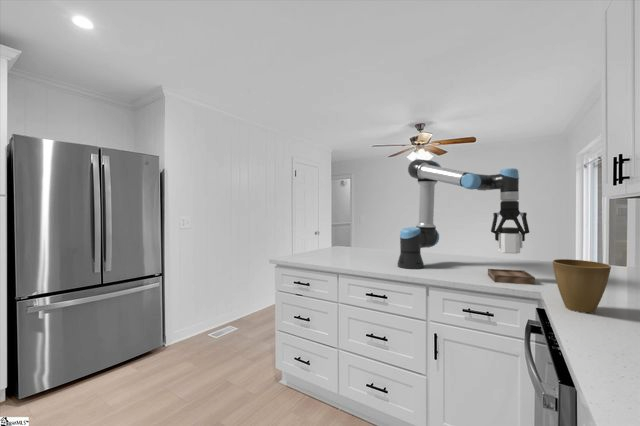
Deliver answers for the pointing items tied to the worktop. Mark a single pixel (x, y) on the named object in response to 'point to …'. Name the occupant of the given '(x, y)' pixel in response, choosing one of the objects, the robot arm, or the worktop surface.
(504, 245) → the jar
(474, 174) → the robot arm
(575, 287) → the plant pot
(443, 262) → the worktop surface
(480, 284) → the worktop surface
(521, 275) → the wooden tray
